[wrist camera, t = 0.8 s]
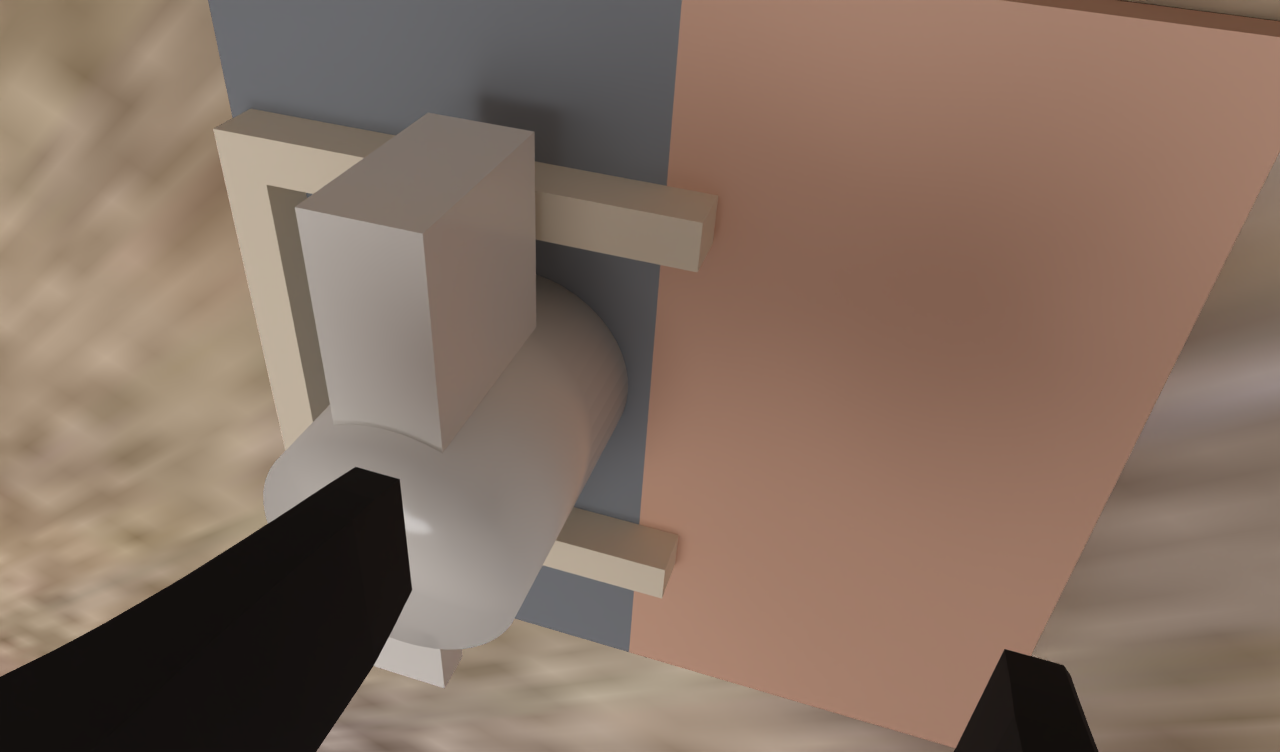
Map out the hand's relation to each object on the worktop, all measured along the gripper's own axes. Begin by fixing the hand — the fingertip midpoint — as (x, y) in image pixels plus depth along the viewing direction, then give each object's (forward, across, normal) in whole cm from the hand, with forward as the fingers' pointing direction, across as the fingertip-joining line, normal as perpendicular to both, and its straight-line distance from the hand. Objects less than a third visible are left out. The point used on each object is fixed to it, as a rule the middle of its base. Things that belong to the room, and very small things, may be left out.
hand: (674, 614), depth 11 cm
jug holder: (+10, +3, +4) cm, 11 cm away
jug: (+9, +6, +2) cm, 11 cm away
